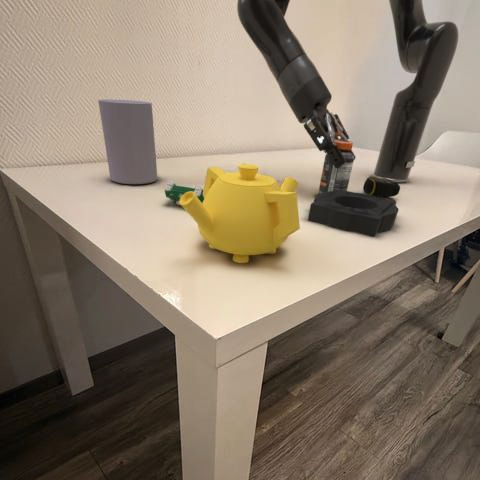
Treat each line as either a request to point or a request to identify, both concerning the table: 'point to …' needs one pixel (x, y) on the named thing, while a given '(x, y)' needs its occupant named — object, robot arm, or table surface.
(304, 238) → the table surface
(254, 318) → the table surface
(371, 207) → the socket pad
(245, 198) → the teapot
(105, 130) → the container
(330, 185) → the pill bottle
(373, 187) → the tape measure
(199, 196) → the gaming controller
